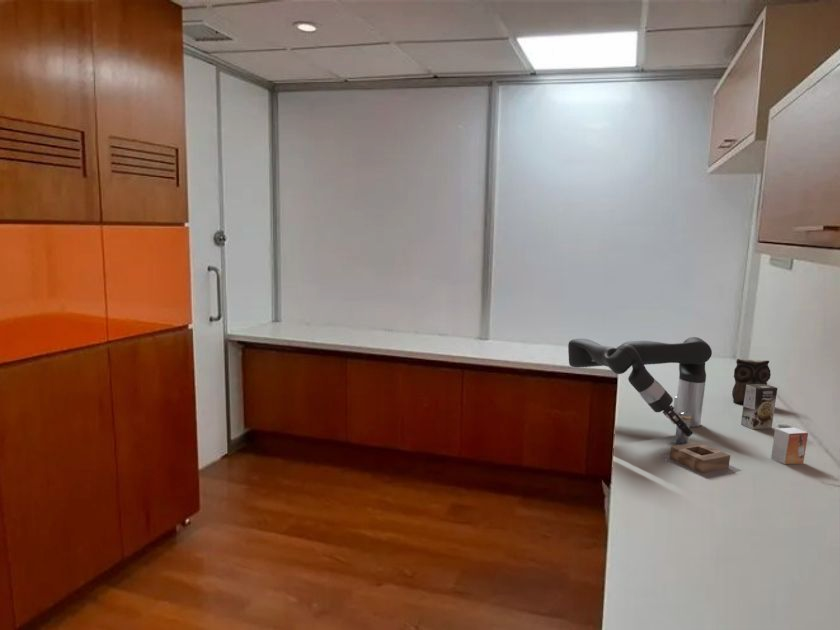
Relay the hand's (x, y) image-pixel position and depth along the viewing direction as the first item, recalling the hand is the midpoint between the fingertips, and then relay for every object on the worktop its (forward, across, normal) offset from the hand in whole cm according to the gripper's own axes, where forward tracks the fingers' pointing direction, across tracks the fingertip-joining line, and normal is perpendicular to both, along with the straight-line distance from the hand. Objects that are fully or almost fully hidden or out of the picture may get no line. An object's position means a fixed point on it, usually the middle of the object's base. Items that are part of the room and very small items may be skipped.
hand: (688, 432), depth 205 cm
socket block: (+2, +18, -4) cm, 18 cm away
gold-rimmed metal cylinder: (+2, 0, -5) cm, 6 cm away
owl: (+35, -67, +27) cm, 80 cm away
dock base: (+3, +18, -5) cm, 19 cm away
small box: (+25, +4, +18) cm, 31 cm away
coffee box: (+28, -32, +20) cm, 47 cm away
